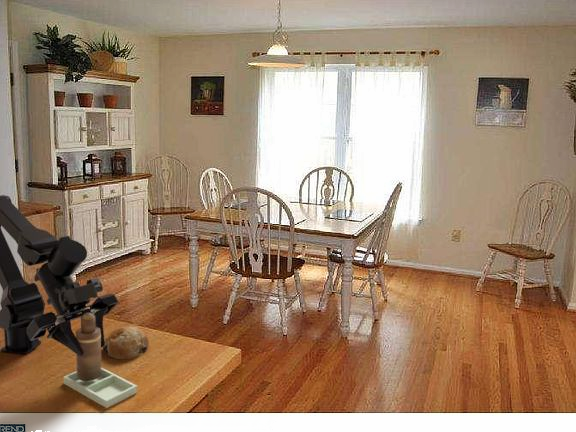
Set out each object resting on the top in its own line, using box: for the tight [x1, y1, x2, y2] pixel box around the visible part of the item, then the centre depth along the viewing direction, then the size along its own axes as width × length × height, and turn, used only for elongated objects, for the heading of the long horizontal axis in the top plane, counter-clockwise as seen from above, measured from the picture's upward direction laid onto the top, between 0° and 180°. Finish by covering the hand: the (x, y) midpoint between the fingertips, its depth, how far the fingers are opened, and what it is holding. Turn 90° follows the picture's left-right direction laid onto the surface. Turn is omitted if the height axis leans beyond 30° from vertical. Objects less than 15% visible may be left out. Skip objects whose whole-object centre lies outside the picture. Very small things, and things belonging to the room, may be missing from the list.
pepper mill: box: [75, 313, 102, 381], centre depth 109 cm, size 5×5×14 cm
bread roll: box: [102, 325, 150, 360], centre depth 126 cm, size 10×10×8 cm
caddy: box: [63, 366, 138, 409], centre depth 109 cm, size 14×7×2 cm, turn 55°
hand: (92, 350), depth 109 cm, fingers closed on pepper mill, 5 cm apart
